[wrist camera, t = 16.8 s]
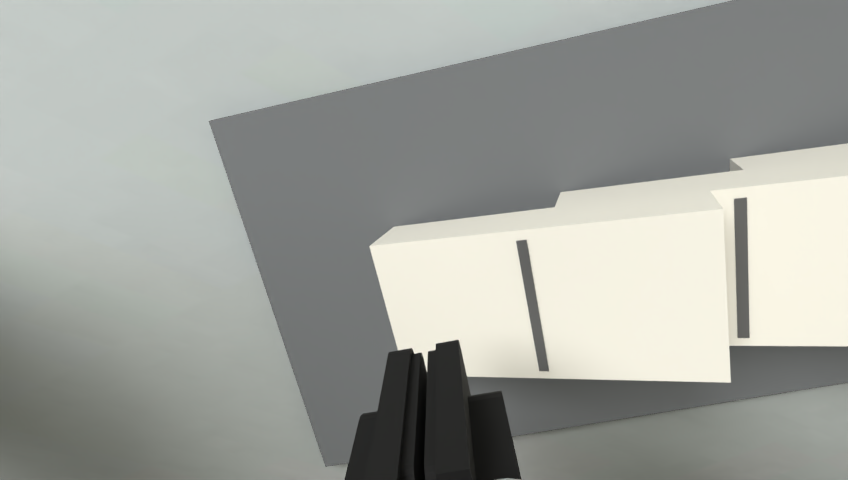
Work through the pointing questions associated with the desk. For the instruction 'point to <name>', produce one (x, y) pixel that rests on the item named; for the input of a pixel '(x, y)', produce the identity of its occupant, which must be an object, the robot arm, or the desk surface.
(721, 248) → the domino
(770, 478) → the desk surface
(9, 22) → the desk surface
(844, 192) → the domino
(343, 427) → the domino mat
